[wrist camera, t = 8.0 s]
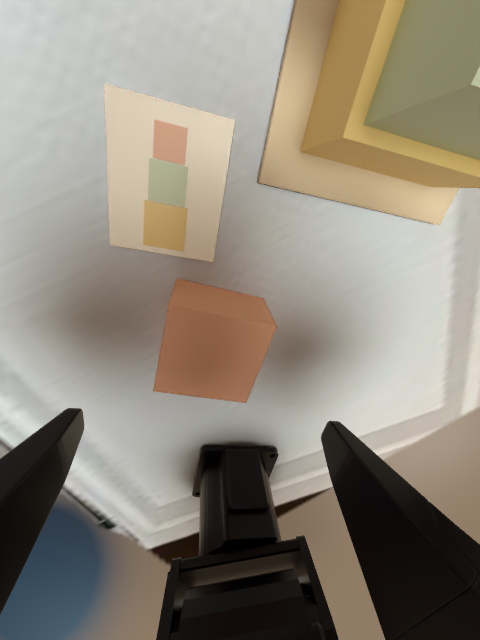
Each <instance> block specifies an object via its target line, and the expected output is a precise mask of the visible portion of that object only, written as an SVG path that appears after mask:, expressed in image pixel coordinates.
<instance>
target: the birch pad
mask: <svg viewBox="0 0 480 640" xmlns="http://www.w3.org/2000/svg"><path fill="white" fill-rule="evenodd" d="M338 3H339V0H295V3H294V8H293V12H292V17H291V22H290V27H289V32H288V37H287V42H286V47H285V52H284V56H283V61H282V66H281V71H280V76H279V81H278V86H277V91H276V96H275V100H274V105H273V110H272V115H271V120H270V125H269V130H268V135H267V140H266V144H265V149H264V154H263V159H262V164H261V169H260V174H259V179H258V183H262V184H266V185H270V186H274V187H279V188H283V189H287V190H291V191H296V192H300V193H304V194H308V195H313V196H317V197H321V198H325V199H330V200H334V201H338V202H342V203H347V204H351V205H355V206H359V207H364V208H368V209H372V210H376V211H381V212H385V213H389V214H393V215H398V216H402V217H406V218H410V219H415V220H419V221H423V222H427V223H432V224H437V225H440V224H441V222H442V220H443V218H444V216H445V214H446V212H447V210H448V209H449V207H450V205H451V203H452V201H453V199H454V197H455V195H456V193H457V192H458V190H459V188H442V187H429V186H425V185H421V184H417V183H414V182H410V181H406V180H403V179H399V178H395V177H391V176H388V175H384V174H380V173H376V172H373V171H369V170H365V169H362V168H358V167H354V166H350V165H347V164H343V163H339V162H336V161H332V160H328V159H324V158H321V157H317V156H313V155H309V154H306V153H302V152H300V150H301V146H302V142H303V138H304V134H305V130H306V126H307V123H308V119H309V115H310V111H311V107H312V103H313V99H314V96H315V92H316V88H317V84H318V80H319V76H320V72H321V68H322V65H323V61H324V57H325V53H326V49H327V45H328V41H329V38H330V34H331V30H332V26H333V22H334V18H335V14H336V11H337V7H338Z"/></svg>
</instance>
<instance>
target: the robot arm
mask: <svg viewBox="0 0 480 640" xmlns="http://www.w3.org/2000/svg"><path fill="white" fill-rule="evenodd" d="M83 431H84V419H83V411H82V409H79V408H68V409H66V410H64V411H63V412H62V413H60V414H59V415H58V416H56V417H55V418H54V419H52V420H51V421H50V422H48V423H47V424H46V425H44V426H43V427H42V428H40V429H39V430H38V431H36V432H35V433H34V434H32V435H31V436H30V437H28V438H27V439H26V440H25V441H23V442H22V443H21V444H19V445H18V446H17V447H15V448H14V449H13V450H11V451H10V452H9V453H7V454H6V455H5V456H3V457H2V458H1V459H0V614H1V612H2V610H3V608H4V606H5V604H6V602H7V600H8V598H9V596H10V594H11V592H12V590H13V588H14V585H15V583H16V581H17V579H18V577H19V575H20V573H21V571H22V569H23V567H24V565H25V563H26V561H27V559H28V557H29V555H30V553H31V550H32V548H33V546H34V544H35V542H36V540H37V538H38V536H39V534H40V532H41V530H42V528H43V526H44V524H45V522H46V520H47V517H48V515H49V513H50V511H51V509H52V507H53V505H54V503H55V501H56V499H57V497H58V495H59V493H60V491H61V489H62V487H63V485H64V482H65V480H66V477H67V475H68V472H69V470H70V467H71V464H72V461H73V459H74V456H75V453H76V450H77V448H78V445H79V442H80V440H81V437H82V434H83ZM321 441H322V445H323V449H324V453H325V457H326V462H327V466H328V470H329V474H330V478H331V481H332V484H333V487H334V490H335V493H336V496H337V499H338V502H339V505H340V508H341V511H342V514H343V517H344V520H345V523H346V525H347V528H348V531H349V534H350V537H351V540H352V543H353V546H354V549H355V552H356V554H357V558H358V560H359V564H360V566H361V569H362V572H363V575H364V578H365V581H366V584H367V587H368V590H369V593H370V596H371V599H372V602H373V604H374V607H375V610H376V613H377V616H378V619H379V622H380V625H381V628H382V631H383V633H384V637H385V640H480V544H478V543H477V542H476V541H475V540H473V539H472V538H471V537H470V536H469V535H467V534H466V533H465V532H464V531H463V530H461V529H460V528H459V527H458V526H457V525H455V524H454V523H453V522H452V521H451V520H450V519H448V518H447V517H446V516H445V515H444V514H442V512H440V511H439V510H438V509H437V508H436V507H435V506H434V505H433V504H431V503H430V502H428V500H427V499H426V498H425V497H424V496H422V495H421V494H420V493H419V492H418V491H417V490H416V489H415V488H413V487H412V486H411V485H410V484H409V483H408V482H407V481H405V480H404V479H403V478H402V477H401V476H400V475H398V473H397V472H395V471H394V470H393V469H392V468H391V467H390V466H389V465H387V464H386V463H385V462H384V461H383V460H382V459H381V458H380V457H379V456H377V455H376V454H375V453H374V452H373V451H372V450H371V449H370V448H368V447H367V446H366V445H365V444H364V443H363V442H362V441H361V440H359V439H358V438H357V437H356V436H355V435H354V434H353V433H352V432H350V431H349V430H348V429H347V428H346V427H345V426H344V425H343V424H341V423H340V422H338V421H329V422H328V423H327V425H326V427H325V429H324V431H323V433H322V435H321ZM277 458H278V451H277V449H276V448H268V447H227V446H204V447H202V448H201V450H200V454H199V459H198V464H197V469H196V475H195V480H194V485H193V492H192V495H193V496H195V497H200V531H199V556H197V557H192V558H186V559H182V558H176V559H172V564H171V569H170V572H168V576H167V582H166V588H165V594H164V599H163V606H162V610H161V616H160V622H159V627H158V633H157V639H156V640H338V636H337V633H336V629H335V626H334V623H333V620H332V616H331V614H330V611H329V608H328V605H327V602H326V599H325V596H324V593H323V590H322V587H321V584H320V581H319V578H318V575H317V572H316V569H315V566H314V563H313V560H312V557H311V554H310V551H309V548H308V545H307V542H306V539H305V537H304V535H303V536H298V537H296V539H291V540H286V541H281V536H280V532H279V527H278V522H277V517H276V512H275V507H274V503H273V498H272V493H271V488H270V483H269V477H270V474H271V472H272V470H273V467H274V465H275V462H276V460H277Z"/></svg>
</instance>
